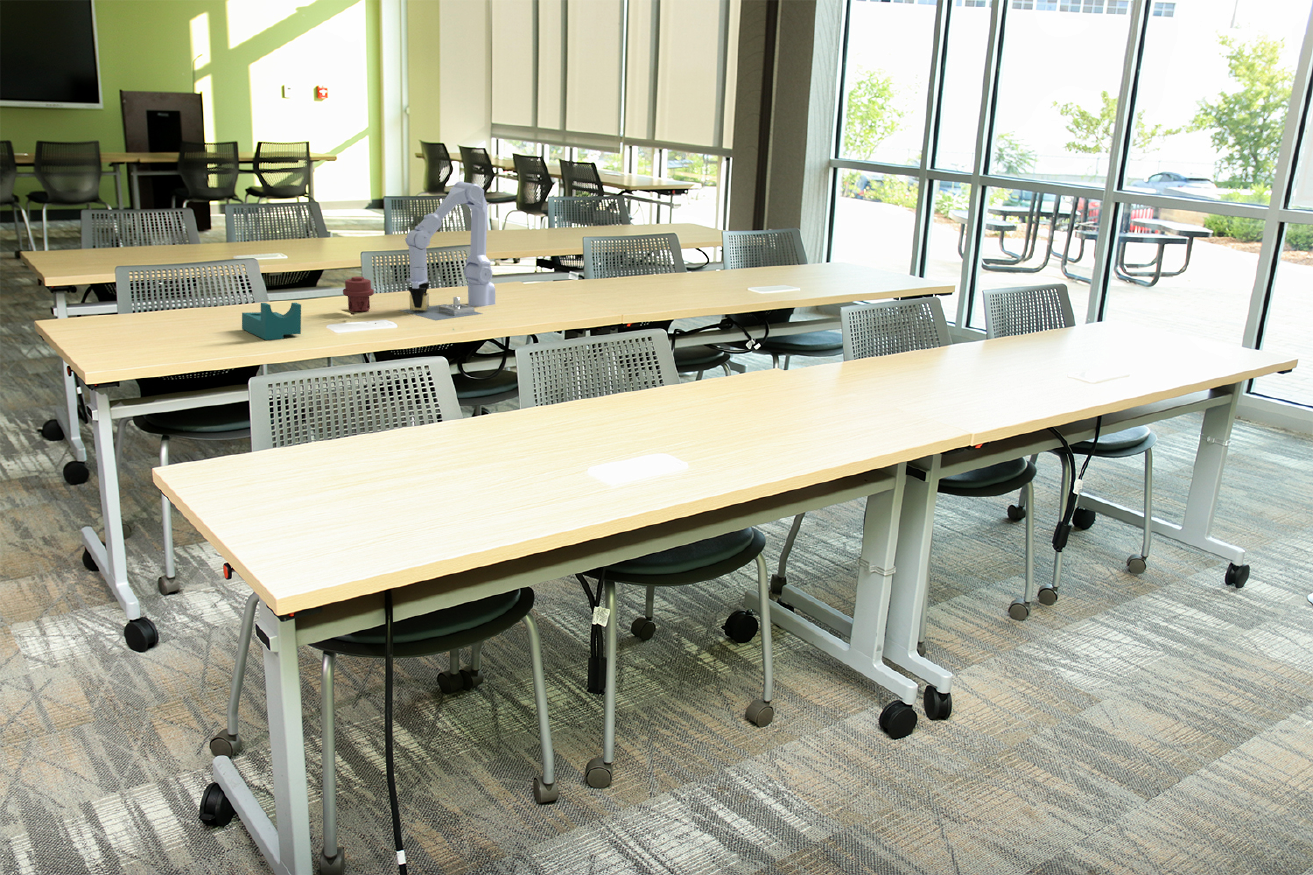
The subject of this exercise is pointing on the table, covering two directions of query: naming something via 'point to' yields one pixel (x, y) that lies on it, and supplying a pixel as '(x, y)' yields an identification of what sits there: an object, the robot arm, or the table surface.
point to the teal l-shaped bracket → (273, 322)
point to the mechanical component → (358, 294)
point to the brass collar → (424, 302)
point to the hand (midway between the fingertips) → (419, 306)
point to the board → (435, 313)
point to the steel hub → (456, 308)
